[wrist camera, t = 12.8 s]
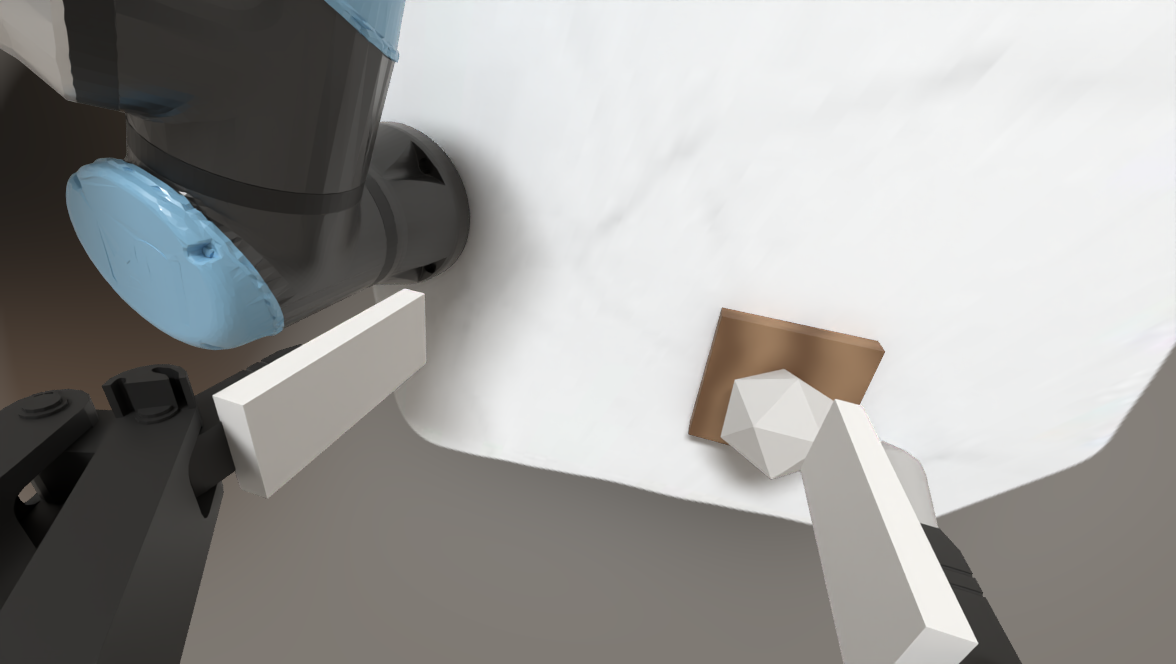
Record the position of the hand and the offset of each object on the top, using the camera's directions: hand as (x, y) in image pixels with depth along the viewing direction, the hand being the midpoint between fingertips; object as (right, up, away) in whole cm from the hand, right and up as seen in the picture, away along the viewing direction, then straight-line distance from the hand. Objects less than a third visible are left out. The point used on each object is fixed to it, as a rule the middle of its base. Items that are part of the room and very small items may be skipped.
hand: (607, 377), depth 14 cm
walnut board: (+17, -4, +28) cm, 33 cm away
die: (+16, -4, +26) cm, 31 cm away
